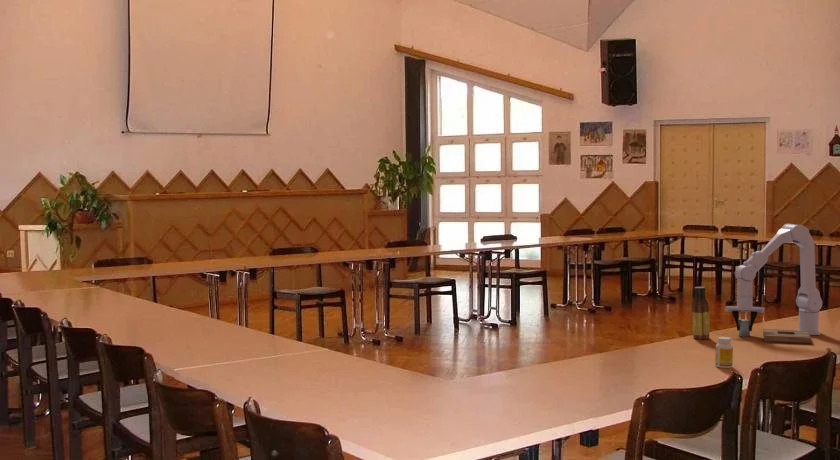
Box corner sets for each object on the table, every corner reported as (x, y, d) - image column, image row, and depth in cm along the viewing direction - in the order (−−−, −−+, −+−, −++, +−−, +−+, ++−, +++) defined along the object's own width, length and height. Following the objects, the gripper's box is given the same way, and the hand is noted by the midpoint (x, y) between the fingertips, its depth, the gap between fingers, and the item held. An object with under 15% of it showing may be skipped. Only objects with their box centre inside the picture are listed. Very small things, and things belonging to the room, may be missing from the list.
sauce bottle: (707, 336, 359) (708, 286, 357) (711, 339, 352) (711, 288, 351) (690, 336, 359) (690, 286, 358) (693, 339, 353) (694, 288, 352)
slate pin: (738, 334, 364) (739, 319, 363) (749, 334, 362) (749, 319, 362) (738, 336, 360) (739, 320, 359) (749, 336, 358) (750, 321, 358)
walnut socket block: (763, 334, 362) (763, 328, 361) (807, 336, 356) (807, 330, 356) (764, 342, 346) (764, 335, 346) (810, 344, 341) (810, 337, 341)
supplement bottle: (711, 366, 305) (712, 337, 304) (723, 364, 307) (723, 335, 307) (724, 369, 300) (724, 339, 299) (736, 367, 303) (736, 338, 302)
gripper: (725, 296, 359) (724, 331, 359) (764, 298, 354) (764, 333, 355) (725, 294, 365) (724, 328, 366) (764, 295, 361) (763, 330, 361)
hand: (744, 330), depth 361 cm, fingers closed on slate pin, 4 cm apart
